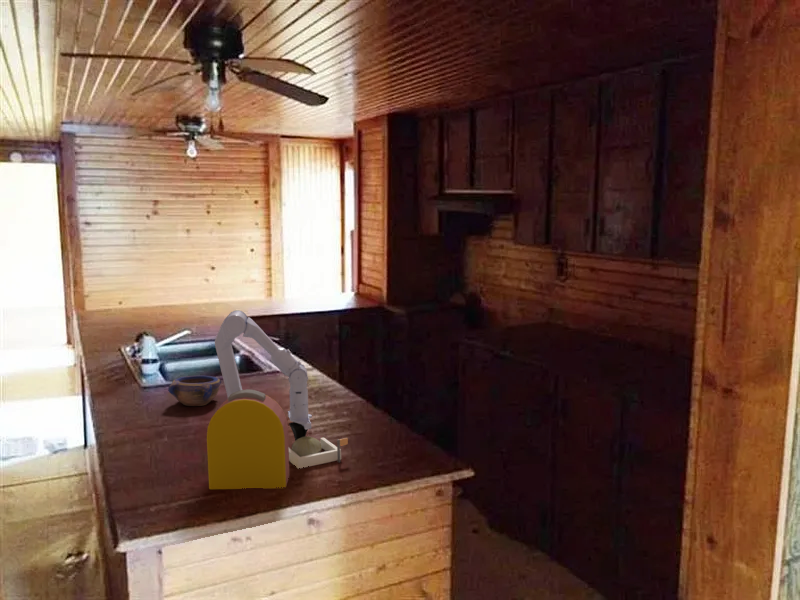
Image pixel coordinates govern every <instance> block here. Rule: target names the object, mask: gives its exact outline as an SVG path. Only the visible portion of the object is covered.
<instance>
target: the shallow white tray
mask: <svg viewBox="0 0 800 600" xmlns="http://www.w3.org/2000/svg"><path fill="white" fill-rule="evenodd" d="M319 441H320V443H321V447H322V448H321V450H322V449H323V450H324V451H322V452H321V451H320V452H319V453H317V454H312V455H307V456H302V457H300V456H298V455H297V454H296V453H295V452H294V451H292V448H290V447H289V463H291V464H292V465H293V466H294V465H295V466H296V467H295V466H294V467H295V468H297V469H298V470H300V469H304V468H309V467H312V466H317V465H322V464H327V463H331V462H335V461H337V463H341V460H342V449H341V447H342V446H346V445H348V443H349V442H348V441H349V439H348V437H344V438H340V439H337V441H336V445H337V446H336V445H335V444H333V443H332V442H330V440H328V439H327V438H325V437H320V440H319ZM308 466H309V467H308ZM303 467H304V468H303ZM299 468H300V469H299Z"/></svg>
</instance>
